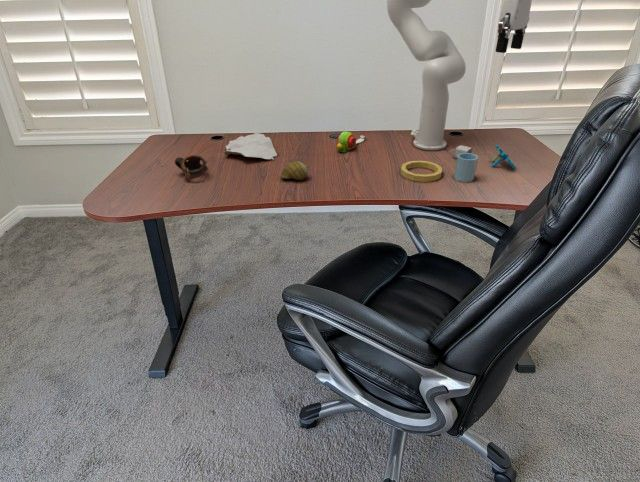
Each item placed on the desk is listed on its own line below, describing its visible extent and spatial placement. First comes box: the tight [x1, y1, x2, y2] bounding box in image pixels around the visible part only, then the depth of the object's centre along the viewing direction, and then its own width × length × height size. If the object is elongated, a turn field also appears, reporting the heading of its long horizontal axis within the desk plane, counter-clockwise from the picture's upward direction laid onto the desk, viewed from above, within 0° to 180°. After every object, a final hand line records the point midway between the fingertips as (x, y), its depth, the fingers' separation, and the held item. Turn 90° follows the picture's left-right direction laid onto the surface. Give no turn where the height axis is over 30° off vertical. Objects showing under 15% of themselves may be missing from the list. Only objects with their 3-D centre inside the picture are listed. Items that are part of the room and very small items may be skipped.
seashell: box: [280, 160, 309, 181], centre depth 140 cm, size 10×7×8 cm
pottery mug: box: [174, 154, 209, 182], centre depth 143 cm, size 12×10×8 cm
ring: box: [400, 160, 443, 183], centre depth 143 cm, size 13×13×2 cm
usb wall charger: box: [449, 144, 473, 159], centre depth 154 cm, size 4×7×4 cm, turn 47°
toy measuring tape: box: [336, 130, 367, 153], centre depth 165 cm, size 6×20×7 cm, turn 145°
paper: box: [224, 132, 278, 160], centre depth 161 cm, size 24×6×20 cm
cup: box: [453, 153, 479, 183], centre depth 138 cm, size 6×6×8 cm
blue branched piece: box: [491, 144, 516, 169], centre depth 146 cm, size 11×6×10 cm
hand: (508, 50), depth 131 cm, fingers open, 9 cm apart
